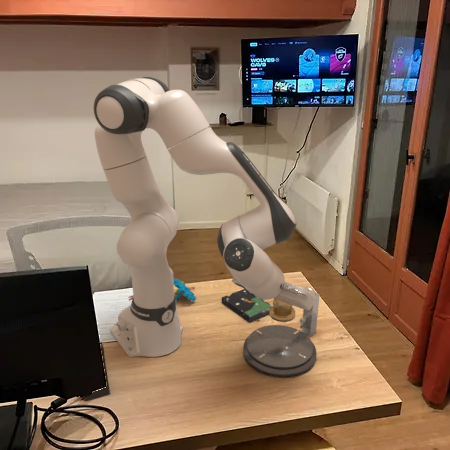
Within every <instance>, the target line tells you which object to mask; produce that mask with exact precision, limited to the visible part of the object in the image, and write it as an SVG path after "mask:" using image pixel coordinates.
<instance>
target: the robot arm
mask: <svg viewBox="0 0 450 450" xmlns="http://www.w3.org/2000/svg"><path fill="white" fill-rule="evenodd" d="M93 114H94V118H95V120H96V121H97V123H98V124H97V125H96V127H95V129H94V139H95V145H96V149H97V153H98V157H99V161H100V164H101V167H102V171H103V173H104V175H105V178H106V180H107V183H108V186H109V189H110V191H111V194H112V197H113V198H114V200H115V201H116V202H118V203H120V204H122V206H124V208H125V209H126V210H127V212H128V214H129V216H130V219H131V222H130V223H128V224H127V225H126V226H125V228H124V229H123V230H122V232H121V233H120V236H119V238H118V240H117V242H116V253H117V255H118V257H119V259H120V260H121V261H122V262H123V264H125V265H127V267H128V269H129V272H130V276H131V284H132V285H131V286H132V295H130V296H128V298H129V299H128V301H129V302H130V301H131V304H130V305H129V306H127V307H126V308H124V309H122V310H121V311H120V313H119V314H118V316H117V321H116V322H115V323H114V324H113V325H112V326H111V327H110V333H111V334H112V336H113V338H114V339H115V340H116V342H117V343H118V344H119V346H120V347H121V348H122V350H123V351H124V352H125V353H126V354H127V355H126V356H128V357H130V358H133V357H142V356H143V357H149V358H151V357H152V358H154V357H156V358H157V357H162V356H166V355H169V354H171V353H173V352H175V351H176V350H177V349H178V348H179V347H180V345H181V344H182V333H183V331H184V328H183V325H181V323H180V316H179V315H180V314H179V310H178V307H177V300H176V294H175V292H174V291H175V286H174V282H173V279H174V272H173V270H172V268H171V267H170V266H169V263H168V259H167V250H168V247H169V244H170V243H171V242H172V240H173V239H174V238H175V236H176V235H177V232H178V230H179V225H180V217H179V215H178V214H179V213H178V212H177V211H176V210H175V208H174V207H172V206H171V205H169V204H168V202H167V200H166V199H165V197H164V195H163V194H162V193H161V190H160V188H159V186H158V185H157V182H156V179H155V176H154V173H153V170H152V169H151V166H150V162H149V160H148V157H147V156H148V155H147V153H146V151H145V148H144V145H143V142H142V133H143V132H144V131H145V130H146V129H151V130H153V131H155V132H156V133H157V134H158V135H159V137H160V138H161V140H162V142H163V143H164V145H165V147H166V148H165V149H166V150H167V152H168V153H169V155H170V156H171V158H172V160H173V161H174V163H175V164H176V166H177V167H178V168H179V169H180V170H181V171H183V172H186V173H188V174H191V175H196V176H208V175H215V174H232V175H234V176H237V177H238V178H240V179H241V181H243V183H244V184H245V185H246V187H247V189H248V190H249V191H250V192H251V193H252V195H253V196H254V197H255V198H256V200H257V201H258V203H259V205H258V206H257V207H255V208H252V209H250V210H248V211H246V212H244V213H242V214H240V215H237V216H235V217H233V218H231V219H229V220H227V221H226V222H224V223H221V225H220V227H219V229H218V233H217V238H216V242H217V248H218V251H219V253H220V255H221V258H222V259H223V260H224V261H223V262H224V264H225V266H226V267H227V270H228V272H230V274H231V275H232V280H231V282H232V283H233V284H234V285H236V286H238V287H240V288H242V289H246V290H248V291H249V292H250V293H252V294H254V295H255V296H256V297H257V298H259V299H262V300H264V301H265V300H266V301H268V300H272V299H273V300H274V299H277V300H280V301H282V302H285V303H288V304H291V305H292V307H293V306H294V307H297V308H299V309H301V310H310V309H311V307H312V305H313V303H314V297H313V296H312V295H311V294H310V293H309V292H308V291H307V290H305V289H304V287H302V286H299V285H296V284H294V283H290V282H287V281H285V279H286V278H285V274H284V273H283V271H282V269H281V268H280V267H279V266H278V265H277V264H276V263H275V262H274V261H273V260H272V259H271V258H270V257H269V255H268V254H267V253H266V251H264V250H265V249H266V248H267V249H268V248H269V247H271V246H274V245H276V244H280V243H283V242H285V241H288V240H291V238H292V236H293V234H294V232H295V231H296V227H297V222H296V217H295V216H294V213H293V211H292V209H290V207H289V206H288V205H287V204H286V203H285V202H284V201H283V200H282V199H281V197H279V195H278V194H277V193H276V191H275V190H274V189H273V188H272V186H270V184H269V183H268V181H267V180H266V179H265V178H264V176H263V175H262V174H261V173H260V171H259V170H258V169H257V166H255V164H254V163H253V161H251V159H250V158H249V157H248V156H247V154H245V152H244V151H243V150H242V148H240V146H238V145H237V144H235V143H234V142H233V141H231V142H230V141H228V142H227V141H225V140H223V139H221V138H220V137H219V136H218V135H217V134H216V133H215V132H214V130H213V128H212V127H211V126H210V123H209V121H208V120H207V118H206V116H205V115H204V113H203V111H202V110H201V109H200V107H199V106H198V105H197V104H196V102H195V100H194V99H193V98H192V96H190V94H189V93H187V92H186V91H185V90H183V89H172V90H171V89H170V88H169V87H168V85H166V83H164V82H163V81H161V80H160V79H158V78H156V77H149V76H143V77H140V78H129V79H126V80H124V81H122V82H119V83H117V84H111V85H109V86H107V87H105V88H104V89H102V90H101V91H100V92H98V94H97V95H96V97H95V99H94V102H93Z"/></svg>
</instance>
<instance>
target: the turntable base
mask: <svg viewBox="0 0 450 450" xmlns="http://www.w3.org/2000/svg"><path fill="white" fill-rule="evenodd" d="M248 337H249V335H248V336H247V337H246V338H245V340H244V342H243V345H242V351H243V352H242V354H243V358H244V360H245V362H246V363H247V364H248V366H250V367H251V368H252V369H253V370H255V371H256V372H258V373H260V374H263V375H264V376H268V377H273V378H279V379H280V378H282V379H286V378H287V379H289V378H295V377H298V376H302V375H304V374H307V373H308V372H309V371H310V370H311V369H312V368H314V366H315V364H316V361H317V348H316V346H315V343H314V342H313V341H312V344H313V354H312V357H311V359H310V360H309V362H307V363H306V364H305V365H303V366H301V367H298V368H295V369H289V370H278V369H272V368H268V367H265V366H263V365H261V364H259V363H257V362H256V361H255V360H253V359H252V358H251V356H250V355H249V353H248V351H247V340H248Z"/></svg>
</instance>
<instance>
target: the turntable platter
mask: <svg viewBox="0 0 450 450" xmlns="http://www.w3.org/2000/svg"><path fill="white" fill-rule="evenodd" d="M248 336H249V337H248ZM248 336H247V337H248V340H247V351H248V353H249V355H250V356H251V358H252V359H253V360H255V361H256V362H257V363H259V364H261V365H263V366H265V367H268V368H272V369H278V370H289V369H295V368H298V367H301V366H303V365H305V364H306V363H307V362H309V360H310V359H311V357H312V354H313V344H314V343H313V344H312V342H313V341H312V340H311V338H310V336H308V335H306V334H304V333H303V332H302V330H299V329H297V328H295V327H292V326H288V325H287V326H286V325H283V324H281V325H279V324H271V325H265V326H262V327H259V328H256V329H254V330H253V331H252V332H251V333H250V334H249V335H248Z"/></svg>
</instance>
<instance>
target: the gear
mask: <svg viewBox="0 0 450 450" xmlns="http://www.w3.org/2000/svg"><path fill="white" fill-rule="evenodd" d="M173 282H174V288H177V289H176V290H175V292H174V295H175V297H176V301H177V300H178V299H179V298H180V297H181V296H184V298H186V297H187V299H188V300H190V301H192V302H195V301H196V299H197V297H196V296H195V293H194V292H192V291H191V288H190V287H188V286H187V285H186V283H185V282H184V281H183V280H182V281H181V280H180V279H179V278H178V279H177V278H175V277H173Z"/></svg>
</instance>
